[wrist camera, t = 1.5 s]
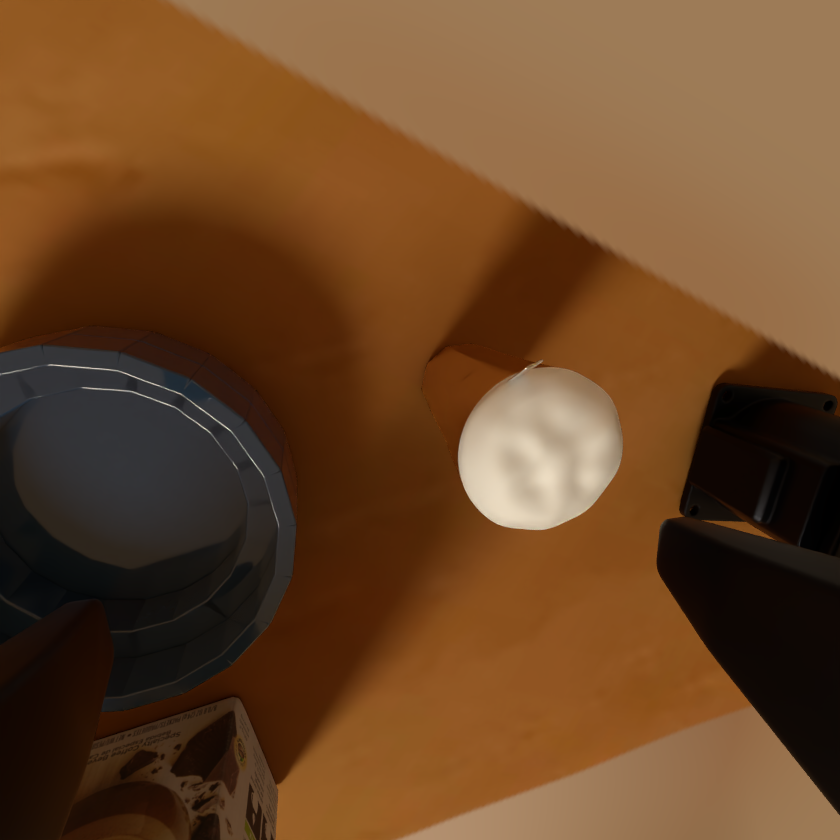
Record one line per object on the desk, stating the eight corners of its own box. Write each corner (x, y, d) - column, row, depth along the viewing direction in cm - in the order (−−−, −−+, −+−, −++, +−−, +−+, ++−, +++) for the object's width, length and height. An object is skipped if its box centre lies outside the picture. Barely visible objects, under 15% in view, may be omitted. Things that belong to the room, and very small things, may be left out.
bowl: (308, 343, 21) (309, 368, 16) (285, 624, 24) (282, 704, 20) (-78, 305, 18) (-195, 322, 14) (-44, 628, 21) (-129, 723, 17)
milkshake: (485, 287, 21) (628, 319, 12) (528, 407, 23) (681, 516, 14) (378, 336, 21) (439, 407, 12) (430, 454, 23) (519, 596, 14)
